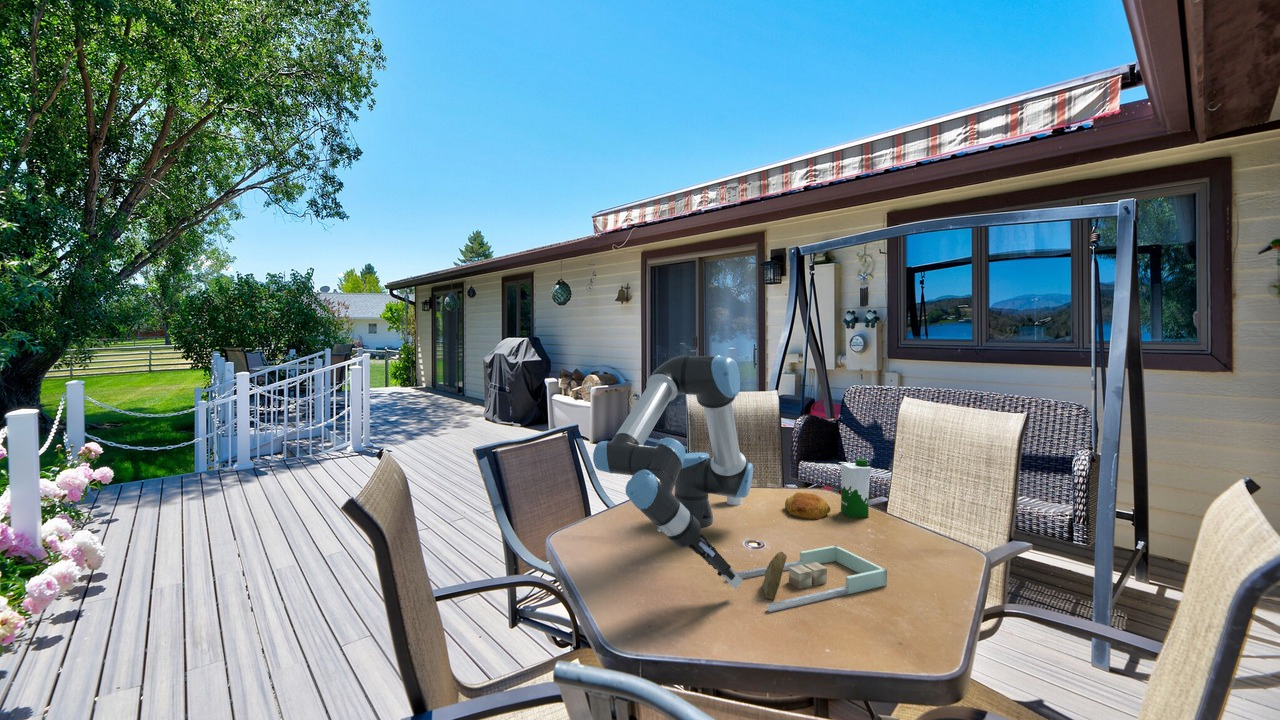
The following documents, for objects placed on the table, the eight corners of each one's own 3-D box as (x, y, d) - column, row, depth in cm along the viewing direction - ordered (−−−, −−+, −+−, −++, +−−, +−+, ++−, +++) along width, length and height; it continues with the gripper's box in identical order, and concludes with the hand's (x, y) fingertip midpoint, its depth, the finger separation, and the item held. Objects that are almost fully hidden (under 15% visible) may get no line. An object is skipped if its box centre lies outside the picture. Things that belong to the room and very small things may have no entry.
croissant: (792, 510, 209) (790, 489, 209) (834, 513, 199) (832, 490, 200) (778, 519, 197) (776, 496, 197) (821, 522, 188) (819, 498, 188)
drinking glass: (746, 503, 209) (747, 477, 209) (737, 506, 205) (737, 480, 204) (731, 499, 214) (732, 474, 214) (722, 502, 209) (722, 477, 209)
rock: (781, 597, 128) (802, 580, 135) (762, 564, 131) (783, 549, 137) (753, 608, 135) (774, 591, 142) (735, 577, 138) (757, 562, 144)
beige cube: (814, 585, 140) (815, 570, 140) (803, 579, 143) (804, 564, 143) (826, 583, 141) (827, 568, 141) (815, 576, 145) (816, 562, 145)
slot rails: (769, 612, 125) (769, 605, 125) (726, 580, 142) (726, 574, 142) (848, 594, 135) (848, 588, 135) (799, 565, 152) (799, 560, 152)
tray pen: (848, 594, 135) (848, 578, 135) (799, 565, 152) (800, 551, 151) (886, 585, 140) (887, 570, 140) (835, 559, 157) (835, 545, 157)
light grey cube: (799, 589, 138) (799, 573, 138) (788, 582, 141) (789, 567, 141) (811, 586, 139) (811, 571, 139) (801, 580, 143) (801, 565, 143)
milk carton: (872, 518, 194) (874, 462, 193) (847, 518, 193) (849, 462, 192) (860, 510, 203) (862, 457, 202) (836, 510, 202) (838, 457, 201)
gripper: (655, 527, 130) (713, 584, 137) (681, 547, 118) (743, 608, 125) (675, 503, 132) (732, 560, 139) (703, 520, 120) (763, 582, 127)
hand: (737, 583), depth 132 cm, fingers closed
